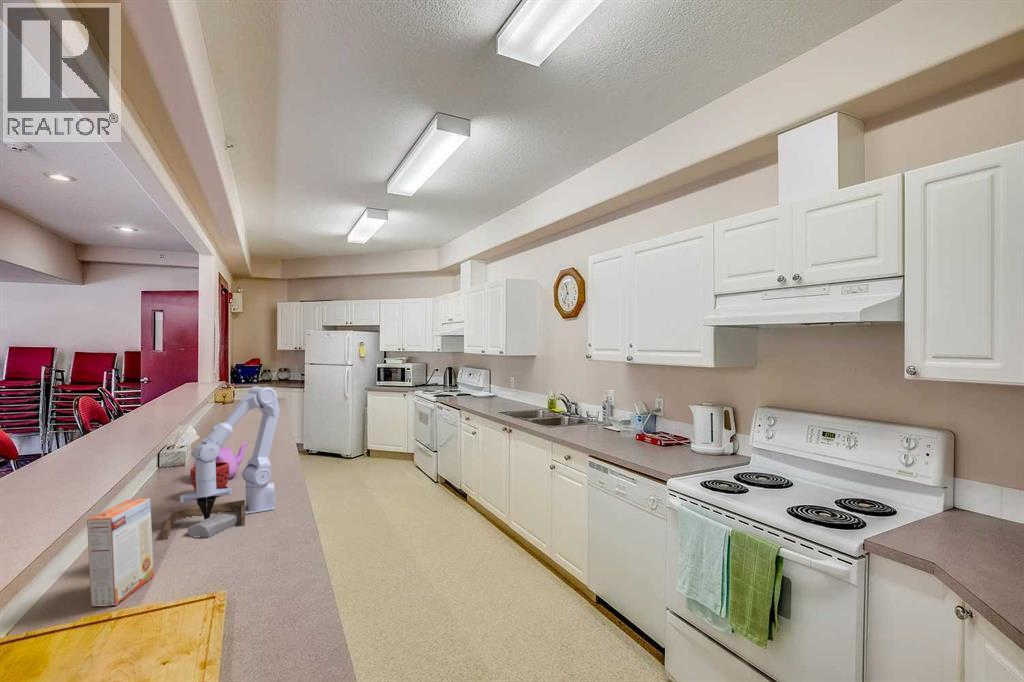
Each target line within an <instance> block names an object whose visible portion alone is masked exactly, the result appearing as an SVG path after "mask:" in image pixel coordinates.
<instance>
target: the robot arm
mask: <svg viewBox="0 0 1024 682" xmlns="http://www.w3.org/2000/svg"><path fill="white" fill-rule="evenodd" d="M278 397H279V394H278V393H277V392H276V391H275V390H274V389H273V388H272V387H265V386H258V385H257V386H256V385H253V386H251V387H250V388H249V389H247V392H245V393H244V394H243V396H242V398H241V399H240V401H239V402H238V403H237V405H236V406H235V407H234V409H232V411H231V412H230V414H229V415H228V416H227V418H226V419H225V420H224V421H223V422H220V423H217V424H216V425H213V426H212V427H211V431H210V432H209V434H207V436H206V437H205V438H203V439H202V440H201V442H200V443H198V444H196V445H195V446H194V448H193V451H192V452H191V455H192V457H193V459H194V460H195V459H196V479H195V480H196V491H194V492H191V493H185V494H180V497H179V500H180V501H179V503H185V502H188V501H189V502H190V501H195V500H196V504H197V507H200V509H201V511H202V513H203V516H202V517H203V520H205V519H207V518H209V517H211V514H210V513H211V509H212V507H213V505H214V504H215V502H216V499H217V496H218V497H223V496H232V495H233V494H232V492H233V490H232V489H233V488H232V487H228V488H226V489H216V460H215V458H216V457H218V455H219V449H220V448H221V447H223V446H224V444H225V443H227V441H228V439H230V437H231V436H232V435H233V433H234V431H233V430H234V429H233V428H234V427H235V426H236V425H237V424H238V423H239V422H240V421H241V420H242V418H243V417H244V416H245V415H246V414H248V412H249V411H250V410H254V409H259V411H260V412H261V413H262V416H261V421H260V425H259V428H258V432H257V436H256V441H255V445H254V448H253V453H252V456H251V457H250V458H249V459H248V461H247V464H246V465H245V467H244V468H243V470H242V473H241V476H242V479H243V480H244V481H245V515H249V513H250V514H254V513H261V512H267V511H273V510H275V509H276V506H275V505H276V501H277V500H276V496H275V495H276V493H275V492H276V491H275V482H270V480H271V478H272V472H271V467H272V463H271V461H270V456H271V455H270V453H271V450H272V447H273V446H272V445H273V441H274V437H275V434H276V428H277V425H278V420H279V417H280V413H281V408H280V404H279V400H278Z"/></svg>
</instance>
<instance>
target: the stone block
mask: <svg viewBox="0 0 1024 682" xmlns="http://www.w3.org/2000/svg"><path fill="white" fill-rule="evenodd" d="M237 521H238V519H237V516H236V515H232V514H231V515H230V514H225V513H222V514H221V513H220V514H215V515H213V516H210V517H209V518H207V519H205V520H204V519H202V521H200V522H198V523H195V524H192V525H189V526H188V528H187V535H188V536H189V535H190V536H198V537H197V538H202V537H210V538H212V536H213V537H215V536H216V535H215V534H217V535H219V534H220V533H219V532H221V533H222V531H223V532H224V530H225V529H227V528H229V527H231V526H233V525H234V526H235V525H237ZM234 526H233V527H234ZM231 528H232V527H231ZM229 529H230V528H229ZM227 530H228V529H227ZM225 531H226V530H225ZM218 533H219V534H218ZM214 535H215V536H214ZM190 536H189V537H190ZM199 536H200V537H199Z"/></svg>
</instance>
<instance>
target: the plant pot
mask: <svg viewBox="0 0 1024 682" xmlns="http://www.w3.org/2000/svg"><path fill="white" fill-rule="evenodd" d="M193 466H194V465H193ZM193 466H192V467H191V468H190V469H189V472H190V481H191V483H192V488H193V489H194V490H195V491H194V492H196V479H195V477H196V466H194V467H193ZM229 480H230V479H229V463H228V462H216V489H226V488H229V487H228V486H227V484H228V483H229Z"/></svg>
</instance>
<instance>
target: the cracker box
mask: <svg viewBox="0 0 1024 682" xmlns="http://www.w3.org/2000/svg"><path fill="white" fill-rule="evenodd" d="M86 525H87V527H86V528H87V547H88V548H87V549H88V566H89V567H88V568H89V571H88V572H89V585H90V586H89V589H90V605H91V606H98V605H112V604H117V603H119V602H120V601H121V600H123V599H124V598H125V599H126V597H127V596H128V595H129V596H130V595H132V594H133V593H135V592H136V591H137V590H138V589H140V588H141V587H142V586H143V585H144V584H146V583H147V582H148V581H150V580H151V579H152V578H153V577H154V576H155V575H154V553H153V533H152V509H151V497H150V498H149V497H148V498H129V499H126V500H125V501H122V502H120V503H119V504H117V505H114V506H112V507H110V508H108V509H107V510H106V509H105V510H104V511H102V512H100V513H98V514H96V515H94V516H92V517H90V518H88V519H87V520H86ZM135 590H136V591H135ZM132 592H133V593H132ZM131 593H132V594H131ZM129 596H128V597H129ZM128 597H127V598H128ZM125 599H124V600H125ZM124 600H123V601H124ZM121 602H122V601H121ZM121 602H120V603H121ZM120 603H119V604H120ZM91 606H90V607H91Z"/></svg>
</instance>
